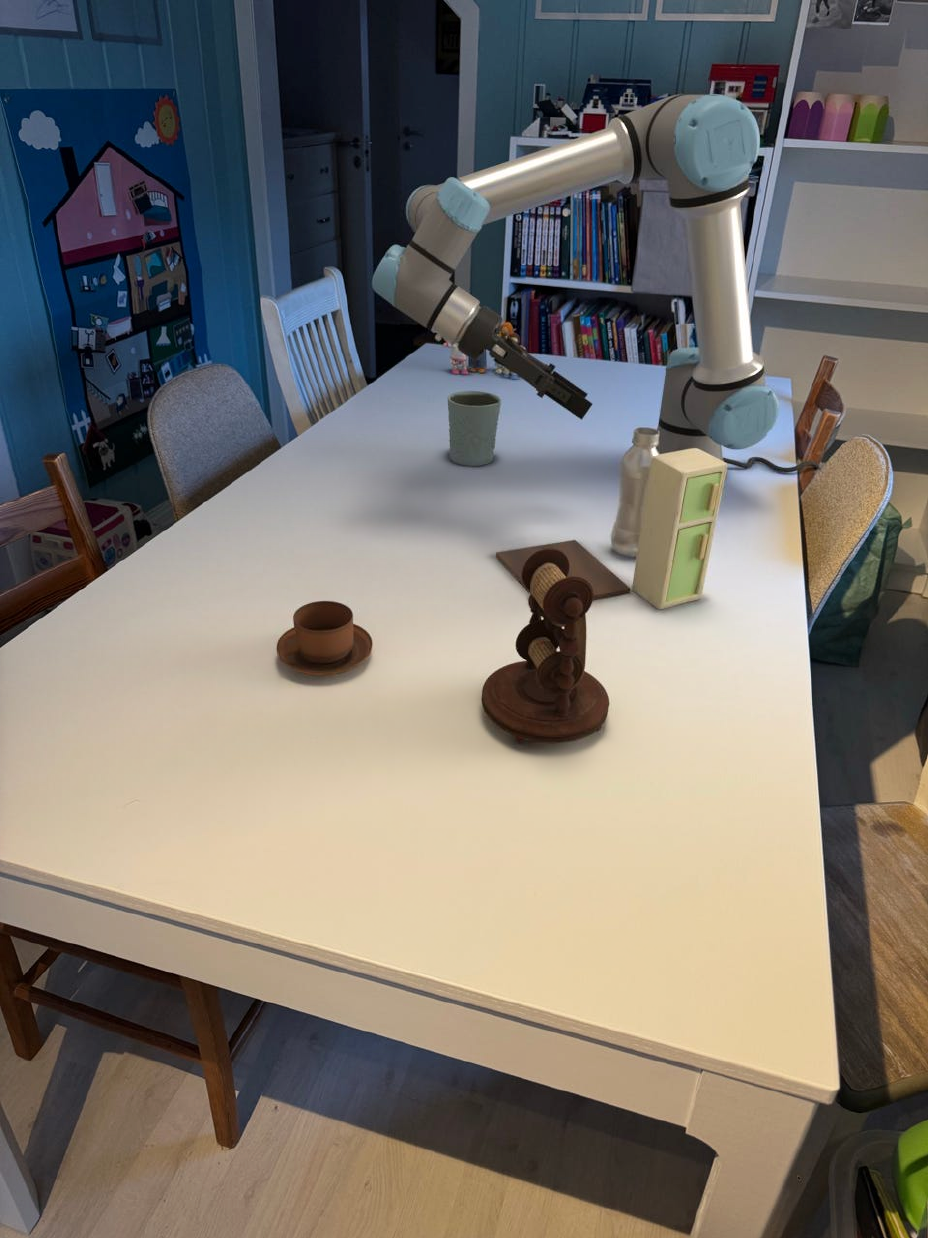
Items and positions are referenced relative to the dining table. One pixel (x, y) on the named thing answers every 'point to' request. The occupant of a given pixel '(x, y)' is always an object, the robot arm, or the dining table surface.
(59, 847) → the dining table surface
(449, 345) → the doll family
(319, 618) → the cup and saucer
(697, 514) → the toy refrigerator
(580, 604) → the wooden spool stand
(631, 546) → the silver metal bottle
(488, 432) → the green embossed cup
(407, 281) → the robot arm
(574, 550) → the walnut board
